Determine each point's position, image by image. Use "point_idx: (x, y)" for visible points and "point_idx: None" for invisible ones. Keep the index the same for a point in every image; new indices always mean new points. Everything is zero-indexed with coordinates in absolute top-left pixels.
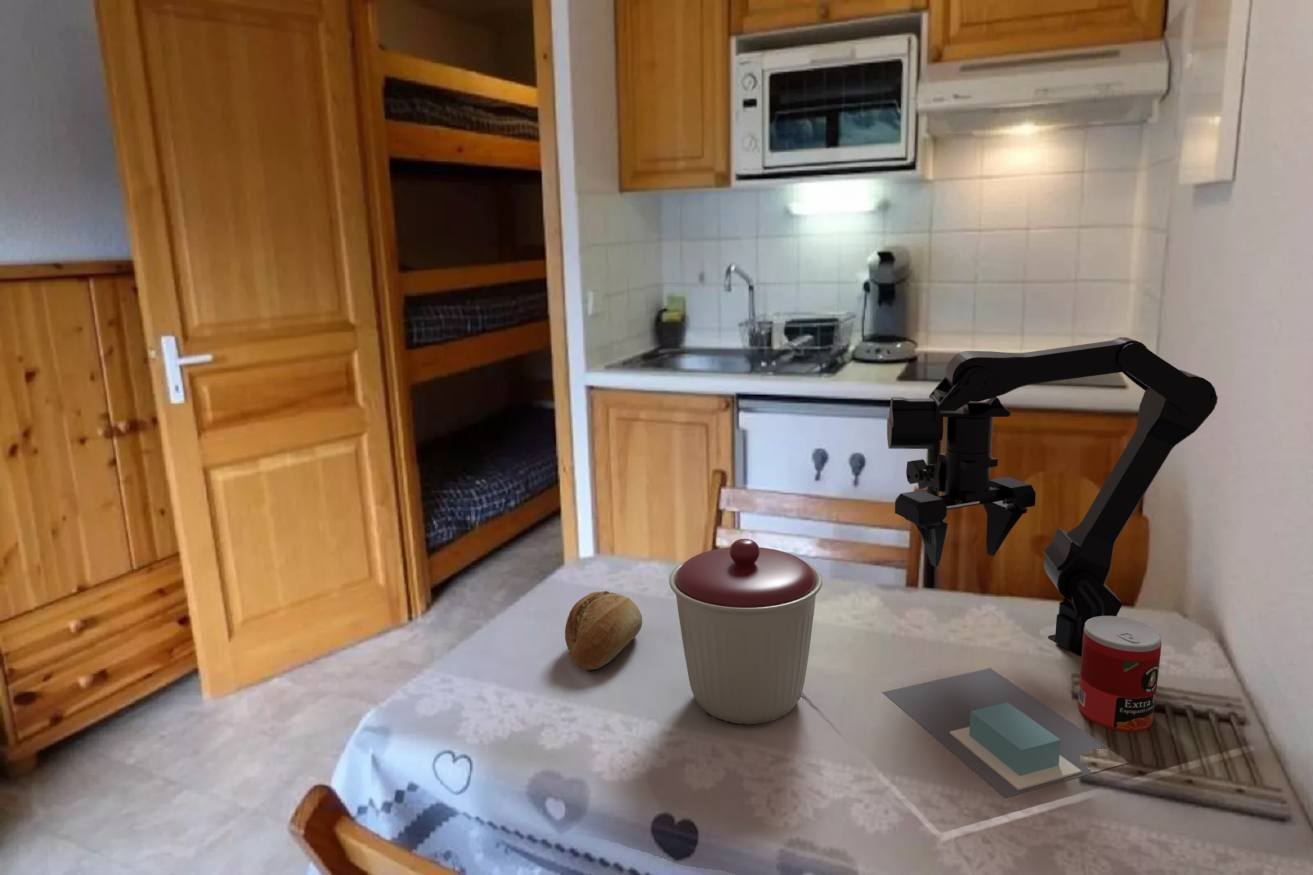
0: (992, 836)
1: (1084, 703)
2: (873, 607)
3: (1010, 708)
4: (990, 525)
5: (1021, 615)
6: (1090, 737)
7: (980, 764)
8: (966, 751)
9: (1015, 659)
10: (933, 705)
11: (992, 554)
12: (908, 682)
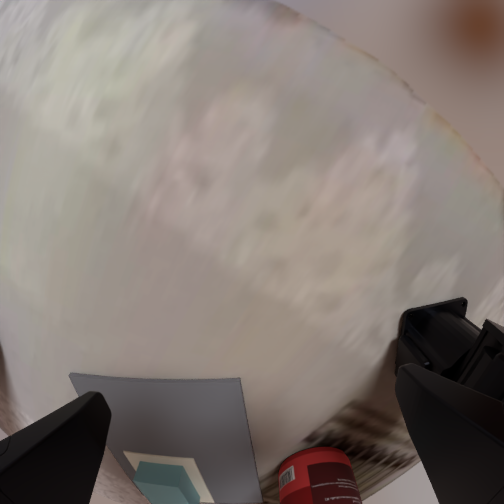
0: (126, 497)
1: (279, 481)
2: (157, 69)
3: (175, 491)
4: (478, 463)
5: (433, 204)
6: (256, 486)
7: None
8: (131, 467)
9: (308, 355)
10: (119, 418)
11: (397, 397)
12: (106, 361)
